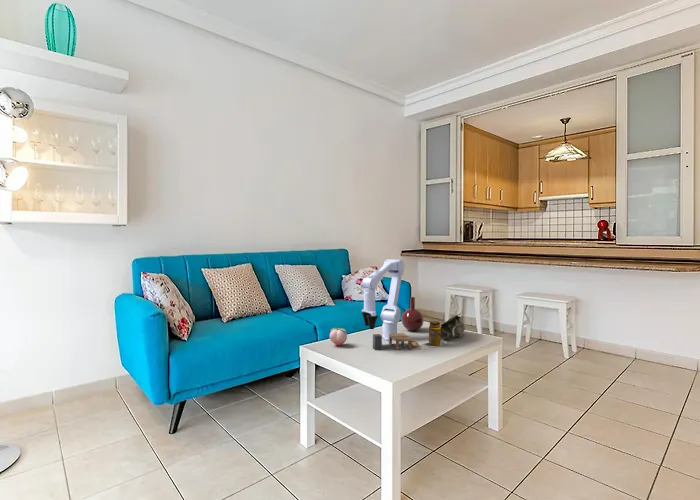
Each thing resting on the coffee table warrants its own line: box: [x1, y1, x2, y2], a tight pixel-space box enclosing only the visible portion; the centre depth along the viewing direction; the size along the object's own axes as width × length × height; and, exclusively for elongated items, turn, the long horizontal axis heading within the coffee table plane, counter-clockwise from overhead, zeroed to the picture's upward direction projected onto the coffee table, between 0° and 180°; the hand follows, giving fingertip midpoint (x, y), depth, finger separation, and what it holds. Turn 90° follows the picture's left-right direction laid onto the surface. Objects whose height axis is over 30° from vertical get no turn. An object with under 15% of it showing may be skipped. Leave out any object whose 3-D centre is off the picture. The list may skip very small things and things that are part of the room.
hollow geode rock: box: [440, 312, 466, 342], centre depth 215 cm, size 28×13×15 cm
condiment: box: [423, 320, 444, 349], centre depth 201 cm, size 7×8×12 cm
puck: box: [412, 340, 419, 348], centre depth 199 cm, size 5×5×2 cm
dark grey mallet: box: [372, 333, 405, 351], centre depth 196 cm, size 4×16×7 cm, turn 105°
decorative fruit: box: [329, 326, 348, 346], centre depth 200 cm, size 9×8×10 cm
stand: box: [388, 332, 413, 351], centre depth 198 cm, size 11×8×5 cm
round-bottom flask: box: [401, 296, 425, 332], centre depth 231 cm, size 13×13×20 cm
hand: (369, 327), depth 198 cm, fingers open, 7 cm apart
